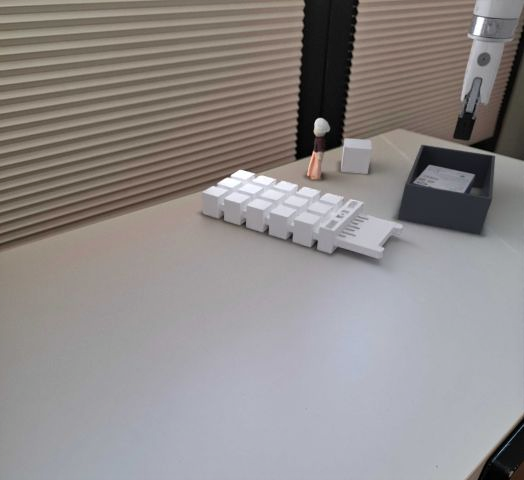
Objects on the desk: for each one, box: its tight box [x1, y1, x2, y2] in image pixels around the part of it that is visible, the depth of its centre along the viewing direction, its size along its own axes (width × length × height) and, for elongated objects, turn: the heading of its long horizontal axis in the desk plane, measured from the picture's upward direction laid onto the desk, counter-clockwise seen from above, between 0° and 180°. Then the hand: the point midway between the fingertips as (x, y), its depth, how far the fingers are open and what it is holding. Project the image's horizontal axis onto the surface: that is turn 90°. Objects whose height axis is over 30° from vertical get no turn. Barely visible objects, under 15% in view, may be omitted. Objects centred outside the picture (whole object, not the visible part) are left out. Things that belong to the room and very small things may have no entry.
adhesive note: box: [340, 137, 373, 175], centre depth 115 cm, size 6×6×6 cm
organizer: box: [201, 169, 404, 260], centre depth 93 cm, size 13×5×35 cm
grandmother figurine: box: [306, 117, 331, 181], centre depth 108 cm, size 8×4×13 cm, turn 6°
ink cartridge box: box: [413, 165, 475, 194], centre depth 100 cm, size 10×6×14 cm
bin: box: [397, 144, 496, 236], centre depth 102 cm, size 23×15×8 cm, turn 159°
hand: (461, 138), depth 99 cm, fingers closed
